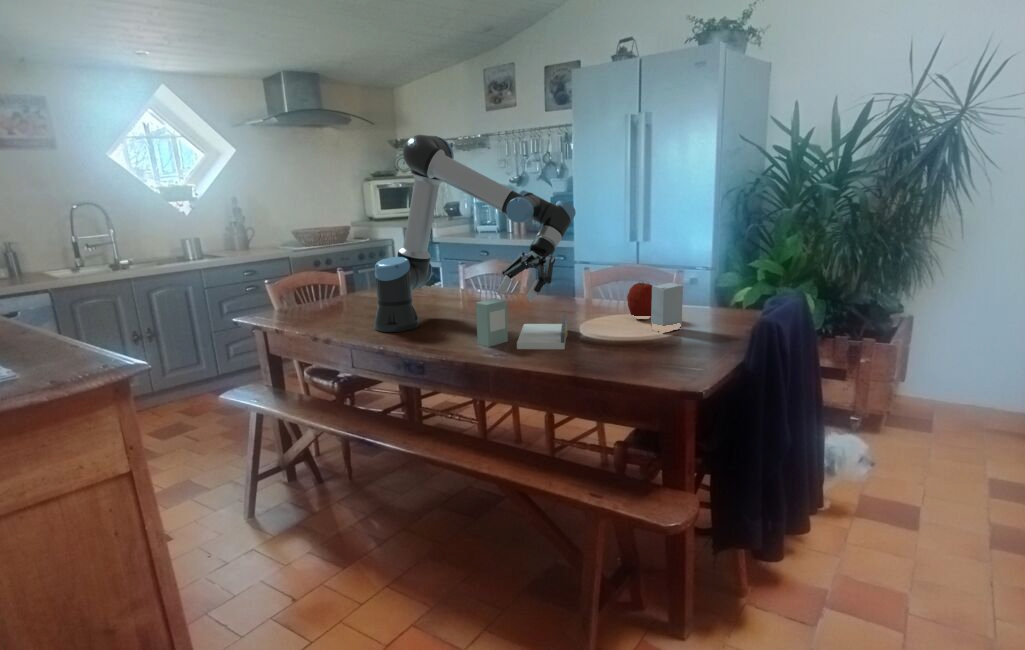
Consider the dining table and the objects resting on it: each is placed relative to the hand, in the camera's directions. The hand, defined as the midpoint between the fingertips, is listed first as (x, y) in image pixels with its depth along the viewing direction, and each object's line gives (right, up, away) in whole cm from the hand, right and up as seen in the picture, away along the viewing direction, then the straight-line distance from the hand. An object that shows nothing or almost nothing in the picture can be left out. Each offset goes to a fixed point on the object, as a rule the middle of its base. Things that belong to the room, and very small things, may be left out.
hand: (513, 296), depth 184 cm
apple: (+45, -7, +20) cm, 49 cm away
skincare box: (+49, -11, +6) cm, 51 cm away
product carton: (-6, -14, -2) cm, 16 cm away
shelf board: (+9, -13, 0) cm, 16 cm away
